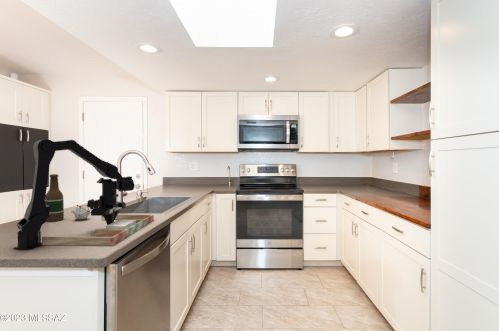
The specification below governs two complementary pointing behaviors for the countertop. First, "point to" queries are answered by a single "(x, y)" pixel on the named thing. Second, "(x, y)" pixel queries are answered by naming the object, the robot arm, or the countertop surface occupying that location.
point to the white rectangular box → (121, 224)
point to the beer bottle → (55, 200)
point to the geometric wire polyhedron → (81, 212)
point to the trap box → (102, 233)
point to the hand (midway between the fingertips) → (109, 227)
